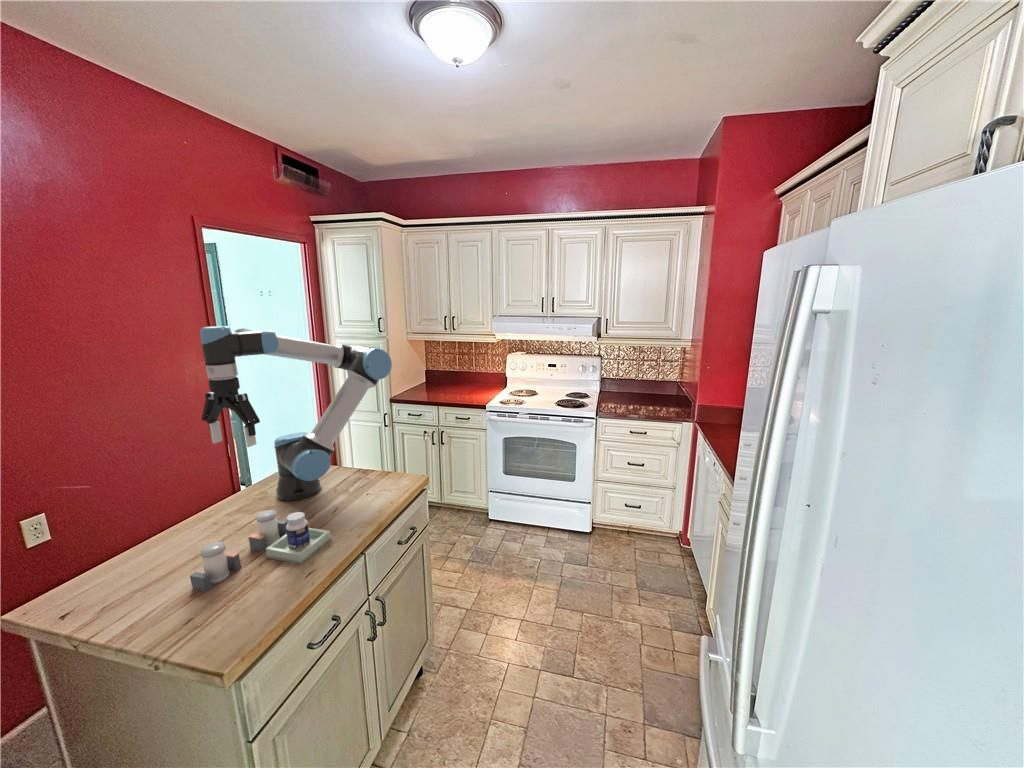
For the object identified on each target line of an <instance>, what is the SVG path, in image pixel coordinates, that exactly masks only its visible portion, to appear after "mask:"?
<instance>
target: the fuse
mask: <svg viewBox="0 0 1024 768" xmlns="http://www.w3.org/2000/svg"><path fill="white" fill-rule="evenodd" d="M255 518H256V523H257V528H258V535H263V536H265V541H266V547H269V546H270V545H271V544H273V543H274V542H276V541H277V540H278V539H280V538H281V536H280V534H279V530H278V524H277V520H278V519H277V518H278V517H277V511H276V510H274V509H269V510H267V509H266V510H264V511H262V512H260V513H258V514H257V515H256V516H255Z"/></svg>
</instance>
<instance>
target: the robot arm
mask: <svg viewBox="0 0 1024 768" xmlns="http://www.w3.org/2000/svg"><path fill="white" fill-rule="evenodd" d="M199 335H200V336H199V337H200V345H201V349H202V354H203V359H204V365H205V371H206V375H207V378H208V379H209V380H208V381H207V383H208V387H209V392H206V393H204V396H205V400H204V406H203V409H202V410H203V411H202V415H201V420H202V421H203V422H206V423H207V424H208V427H209V432H210V436H211V442H212V444H213V445H214V444H217V443H220V442H223V434H222V429H221V422H220V421H219V418H220V415H221V413H222V411H223V409H224V408H225V409H229V410H231V411H233V412H234V413H235V414H236V415H237V416H238V418H239V419H240V421H242V423H243V424H244V426H243V432H244V437H245V443H246V447H247V448H250V447H254V446H255V445H257V438H256V435H257V434H256V432H257V431H256V425H257V424H259V423H260V422H261V421H260V418H259V416H258V415H257V412H256V410H255V409H254V407H253V406H252V404H251V401H250V400H249V396H248V394H247V392H246V393H240V394H239V392H238V390H239V389H240V381H239V377H237V376H238V375H239V373H238V372H239V371H238V367H237V362H236V357H243V356H244V357H245V356H246V357H249V356H257V355H258V356H259V355H266V356H272V357H273V356H274V357H279V358H285V359H292V360H293V359H294V360H300V361H307V362H313V363H319V364H326V365H331V366H332V367H334V368H335V369H341V370H345V371H346V373H347V378H346V379H345V381H344V382H343V384H342V385H341V387H340V389H338V391H337V393H336V395H335V396H334V397H333V399H332V401H331V402H330V404H329V405H328V407H327V408H326V410H325V411H324V413H323V414H322V415H321V417H320V419H319V420H318V422H317V423H316V424H315V426H314V428H313V429H312V431H311V432H295V433H288V434H283V435H282V436H279V437H277V438H275V440H274V449H275V451H274V452H275V457H276V463H277V469H278V481H277V487H276V489H275V492H276V498H277V499H278V500H280V501H286V502H289V501H299V500H302V499H306V498H309V497H311V496H313V495H315V494H316V493H318V492H319V491H320V490H321V489H322V488H321V481H320V479H321V478H322V477H324V476H325V475H326V474H327V473H328V471H329V470H330V467H331V465H332V464H331V463H332V462H331V456H332V455H333V453H334V451H335V446H334V443H335V442H336V441H337V439H338V437H339V435H340V434H341V433H342V431H343V430H344V427H346V425H347V423H348V422H349V420H350V419H351V417H352V415H353V414H354V412H355V410H356V409H357V408H358V406H359V404H360V403H361V402H362V400H363V399H364V396H365V395H366V393H367V392H368V390H369V389H371V388H374V387H376V386H377V384H378V382H379V381H380V380H383V379H385V378H386V377H388V375H389V374H390V373H391V371H392V367H393V363H392V359H391V356H390V354H389V353H388V352H387V351H386V350H384V349H382V348H379V347H375V346H366V345H350V344H343V343H341V344H340V343H338V344H335V345H334V344H328V343H323V342H317V341H312V340H306V339H300V338H295V337H290V336H284V335H279V334H276V332H275V331H274V330H271V329H267V330H265V329H263V330H252V329H248V328H243V327H242V328H238V329H235V330H234V331H232V330H231V328H230V326H228V325H223V326H222V325H219V326H218V325H217V326H216V325H215V326H204V327H201V328H200V329H199Z"/></svg>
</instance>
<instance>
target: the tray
mask: <svg viewBox="0 0 1024 768" xmlns="http://www.w3.org/2000/svg"><path fill="white" fill-rule="evenodd" d="M308 529H309V537H310V544H309V545H308V546H307V547H306V548H305V549H303V550H300V551H291V550H290V549H289V547H288V539H287V534H285V535H282V536H280V539H278V540H277V541H276V542H274V543H273V544H271V545H269V546H266V547H267V548H266V549H265V552H266V553H265V554H266V558H267V559H270V560H277V561H281V562H282V561H283V562H287V563H292V564H298V565H303V564H304V563H306V561H308V560H309V559H310V558H311V557H313V555H315V554H317V552H319V551H320V550H321V549H322V548H323V547H324V546H325V545H327V544H328V543H329V542H331V540H332V536H331V531H330V530H326V529H319V528H313V527H308Z"/></svg>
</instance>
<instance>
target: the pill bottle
mask: <svg viewBox="0 0 1024 768" xmlns="http://www.w3.org/2000/svg"><path fill="white" fill-rule="evenodd" d="M305 514H306V513H304V512H301V511H295V512H293V513H289V514H288V515H287V517H286V521H287V523H288V524H287V526H286V532H287V539H288V547H289V549H290V550H291V551H300V550H303V549H305V548H306V547H307V546H308V545H309V544H310V537H309V529H308V528H309V522H308V520H307V519H306V515H305Z"/></svg>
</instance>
